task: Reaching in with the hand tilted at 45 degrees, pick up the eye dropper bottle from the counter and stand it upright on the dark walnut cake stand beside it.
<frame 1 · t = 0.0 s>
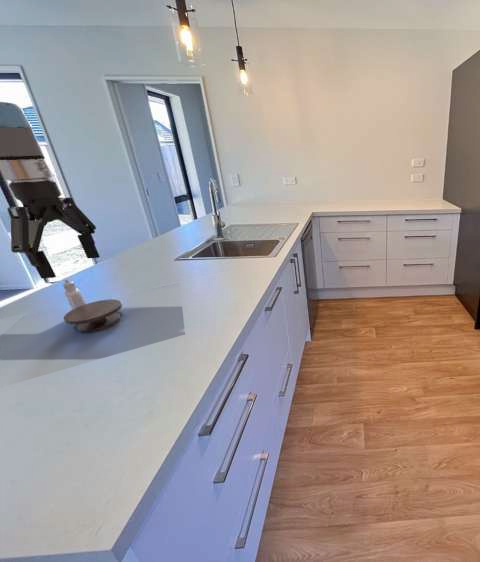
hand: (73, 266, 77), 21 cm above the worktop, tool pointing down, fingers open, 13 cm apart
walnut stand: (100, 323, 91), on the worktop
eye dropper bottle: (83, 313, 97), on the worktop
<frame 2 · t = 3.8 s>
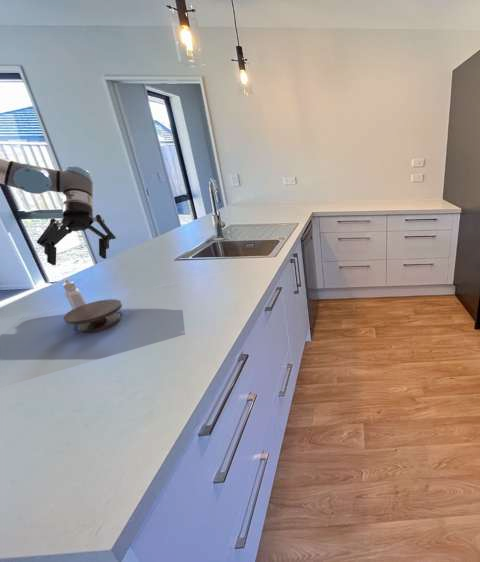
hand: (77, 260, 100), 15 cm above the worktop, tool tilted 45°, fingers open, 13 cm apart
nothing on the worktop moved.
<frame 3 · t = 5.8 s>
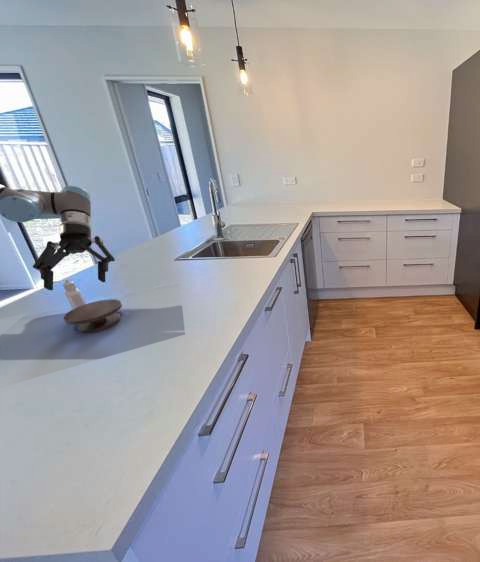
hand: (75, 284, 96), 9 cm above the worktop, tool tilted 45°, fingers open, 13 cm apart
nothing on the worktop moved.
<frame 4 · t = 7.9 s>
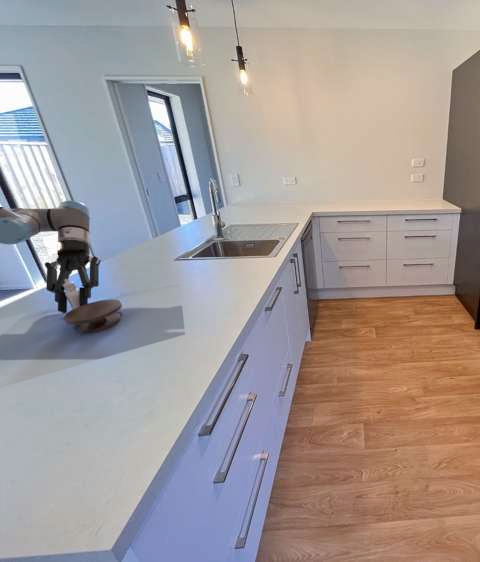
hand: (73, 309, 93), 3 cm above the worktop, tool tilted 45°, fingers closed on eye dropper bottle, 4 cm apart
eye dropper bottle: (83, 313, 97), on the worktop, touching gripper
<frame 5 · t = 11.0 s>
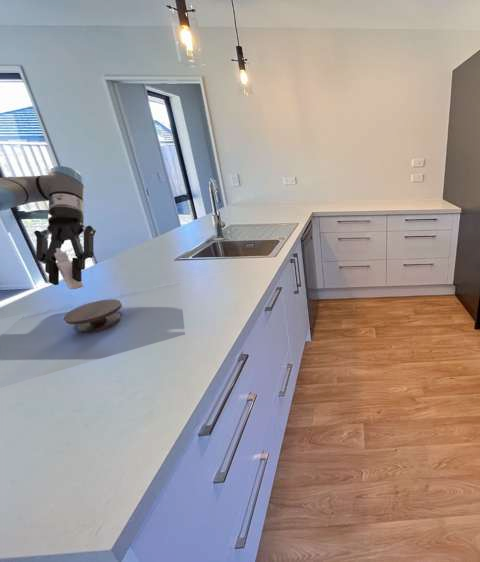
hand: (65, 281, 85), 14 cm above the worktop, tool tilted 45°, fingers closed on eye dropper bottle, 4 cm apart
eye dropper bottle: (76, 287, 90), point 11 cm above the worktop, touching gripper
when the fingers open (8 cm above the worktop, at t = 14.0 s): eye dropper bottle stays where it is, resting on walnut stand.
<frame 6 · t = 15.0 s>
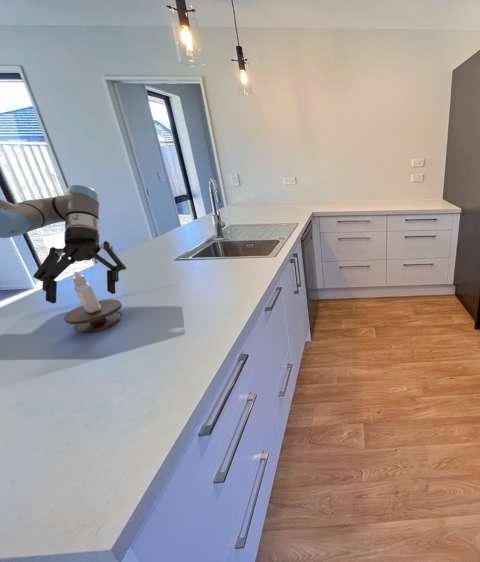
hand: (82, 296, 84), 10 cm above the worktop, tool tilted 45°, fingers open, 13 cm apart
eye dropper bottle: (93, 310, 89), point 5 cm above the worktop, touching walnut stand
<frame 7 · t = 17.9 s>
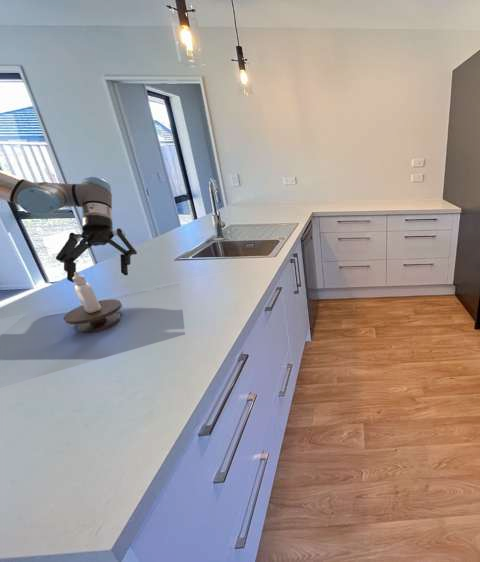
hand: (98, 277, 95), 11 cm above the worktop, tool tilted 45°, fingers open, 13 cm apart
nothing on the worktop moved.
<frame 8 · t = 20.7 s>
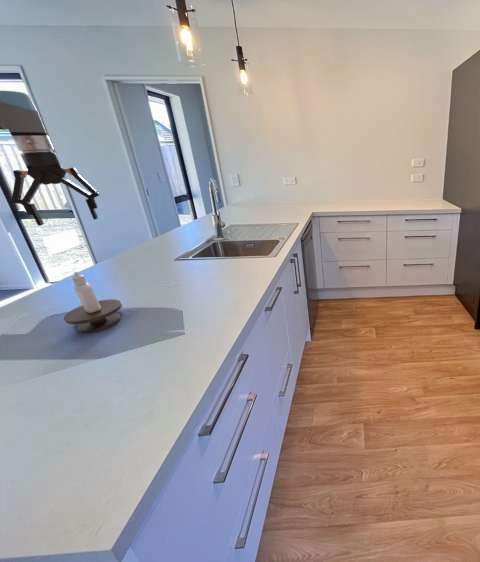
hand: (69, 221, 99), 27 cm above the worktop, tool pointing down, fingers open, 13 cm apart
nothing on the worktop moved.
at the end: eye dropper bottle inside the target area on the walnut stand (0.0 cm from its centre), point 4.8 cm above the walnut stand's base; eye dropper bottle tilted 0°; the gripper is holding nothing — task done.
